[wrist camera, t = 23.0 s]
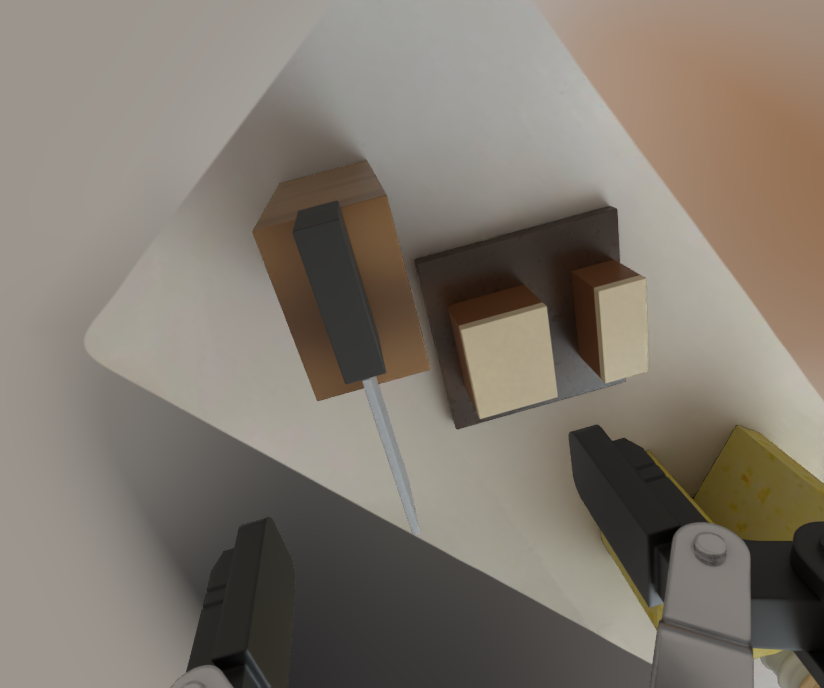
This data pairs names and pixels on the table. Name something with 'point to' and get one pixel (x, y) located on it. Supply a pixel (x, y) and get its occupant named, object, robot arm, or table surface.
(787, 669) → the jar
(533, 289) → the board
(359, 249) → the stand
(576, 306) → the slice
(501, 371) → the cream-faced brown block
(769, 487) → the cheese
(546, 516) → the table surface
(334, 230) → the knife
